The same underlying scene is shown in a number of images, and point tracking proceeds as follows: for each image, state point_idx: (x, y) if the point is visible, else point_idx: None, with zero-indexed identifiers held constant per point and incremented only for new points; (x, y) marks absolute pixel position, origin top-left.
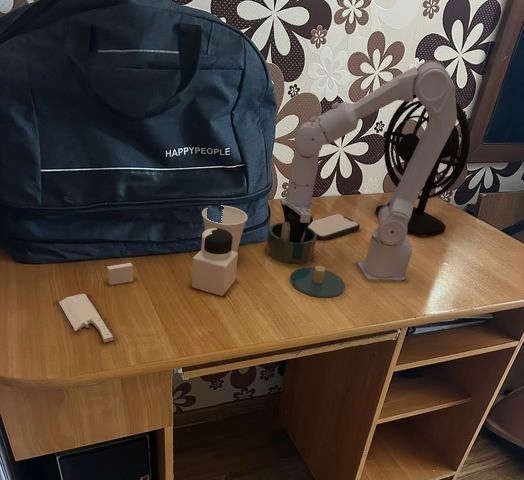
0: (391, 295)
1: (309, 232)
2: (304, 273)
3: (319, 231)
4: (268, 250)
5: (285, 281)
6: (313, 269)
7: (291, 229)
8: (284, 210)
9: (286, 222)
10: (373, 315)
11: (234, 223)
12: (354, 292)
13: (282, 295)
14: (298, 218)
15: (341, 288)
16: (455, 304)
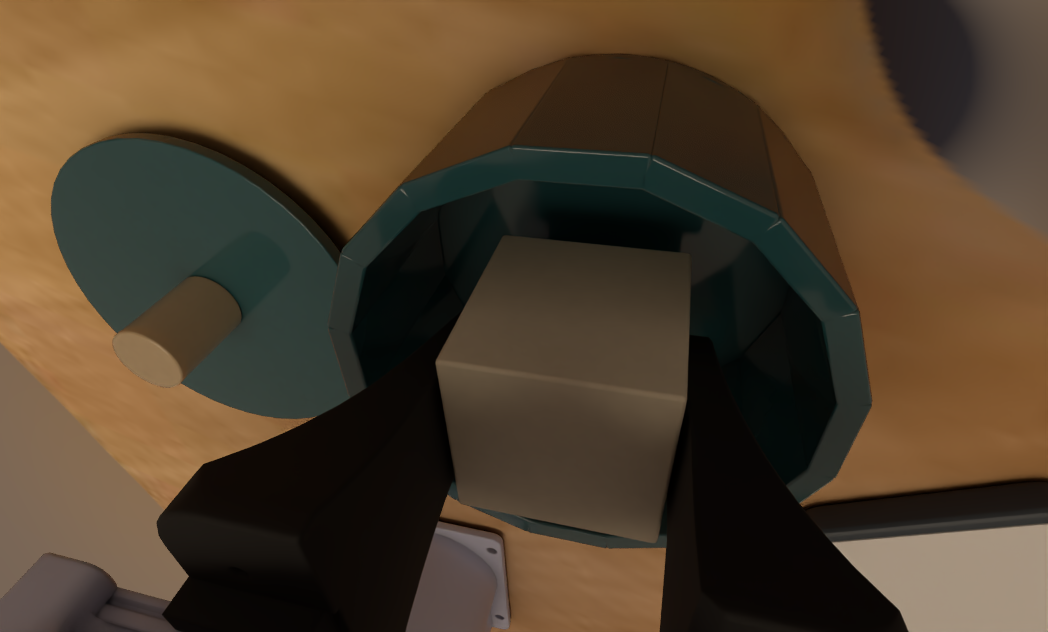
0: None
1: None
2: (274, 261)
3: (888, 565)
4: (566, 71)
5: (201, 104)
6: None
7: (349, 400)
8: (694, 553)
9: (656, 426)
10: (95, 402)
11: None
12: (238, 416)
13: (10, 26)
14: (200, 578)
15: (190, 381)
16: None
